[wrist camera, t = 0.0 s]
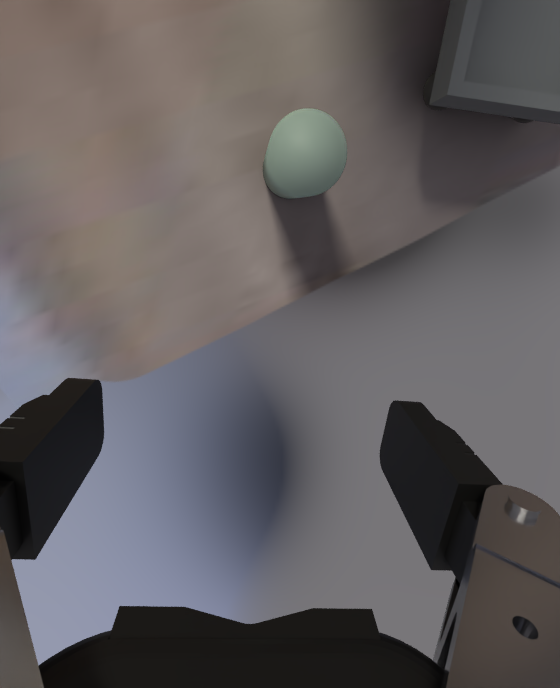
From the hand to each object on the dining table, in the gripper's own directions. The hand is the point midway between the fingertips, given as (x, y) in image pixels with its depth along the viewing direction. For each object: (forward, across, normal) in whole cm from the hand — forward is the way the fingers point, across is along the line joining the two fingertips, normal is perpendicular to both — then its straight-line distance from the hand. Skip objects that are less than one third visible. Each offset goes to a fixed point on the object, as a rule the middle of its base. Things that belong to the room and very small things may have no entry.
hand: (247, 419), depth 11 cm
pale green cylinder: (+29, -3, -9) cm, 31 cm away
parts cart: (+29, -19, -22) cm, 41 cm away
